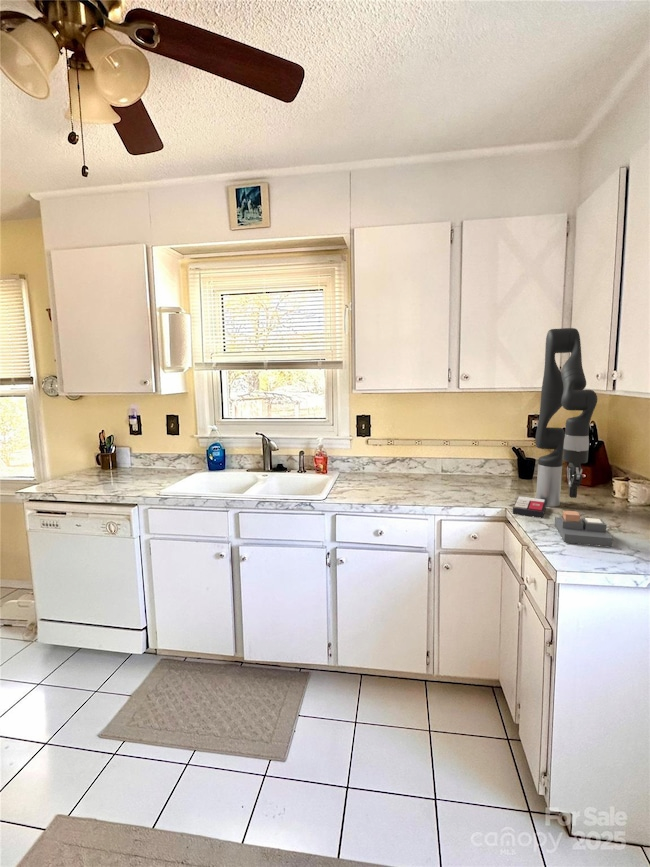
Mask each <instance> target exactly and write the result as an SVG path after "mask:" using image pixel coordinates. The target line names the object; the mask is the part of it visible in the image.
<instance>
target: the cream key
mask: <svg viewBox="0 0 650 867" xmlns="http://www.w3.org/2000/svg"><path fill="white" fill-rule="evenodd" d="M584 518H585V520H586V522H587V523H596V524H603V523H602V522H601V520H600V519H601V518H595V519H593V517H591V518H590V517H584Z"/></svg>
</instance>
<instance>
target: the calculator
mask: <svg viewBox="0 0 650 867" xmlns="http://www.w3.org/2000/svg"><path fill="white" fill-rule="evenodd" d="M546 507H547V506H546V500H544V499H536V497H526V496H518V497H517V498H516V501H515V502H514V505H513V507H512V514H513V515H518V516H524V515H525V516H527V517H532V516H534V517H533V518H539V517H541V518H540V519H542V517H543V518H544V514H545V511H546Z"/></svg>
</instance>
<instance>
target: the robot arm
mask: <svg viewBox="0 0 650 867" xmlns="http://www.w3.org/2000/svg"><path fill="white" fill-rule="evenodd" d="M581 345H582V343H581V335H580V332H579V331H578V329H577V328H573V327H564V328H562V327H561V328H551V329H549V330H548V331H547V333H546V337H545V352H544V356H545V357H544V371H543V377H542V385H541V391H540V392H541V394H540V405H539V406H540V407H539V415H538V416H539V417H538V420H537V427H536V432H535V445H536V446H535V447H536V448H537V449H541V450H553V451H552V452H550V453H549V454H545V455H542V456H539V458H538V460H537V476H536V477H537V478H536V494H535V498H536V499H544V500H546V507H548V508H550V507H553V508H554V507H559V506H560V504H561V503H560V501H561V489H562V487H561V486H562V475H563V474H562V473H563V472H562V471H563V461H564V462H565V463H568V465H567V467H566V477H567V478H566V480H567V483H568V496H569V498H572V499H573V498H574V499H575V498H577V497H578V488H579V487H580V486H581V483H582V480H583V476H584V475H583V474H582V473H583V468H582V467H581V465H582V464H586V463H588V461H589V448H590V439H589V438H590V437H589V433H590V423H591V420H592V416H593V413H594V411H595V409H596V406H597V403H598V395H597V393H596V392H595V391H594V390H592V389H586V386H587V380H586V376H585V372H584V369H583V359H582V346H581ZM566 353H567V354H568V353H570V356H569V357H568V358H567V360H566V361H565V362H564V364H563V365H562V368H561V369H559V366H558V364H557V361H556V354H566ZM561 408H563V409H565V410H566V411H579V412H580V411H582V412H581V413H580V415H577V416H572V417H568V418H567V419H566V420H565V429H564V428H562V427H549V426H548V424H549V422H550V420H551V419H552V418H553V417H554V416H555V414H556V413H557V412H558V411H559V410H560V409H561Z"/></svg>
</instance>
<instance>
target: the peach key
mask: <svg viewBox="0 0 650 867" xmlns="http://www.w3.org/2000/svg"><path fill="white" fill-rule="evenodd" d="M562 516H563V518H564V520H565V521H571V522H580V519H581V515H580V514H579V512H578V511H573V510H562Z"/></svg>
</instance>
